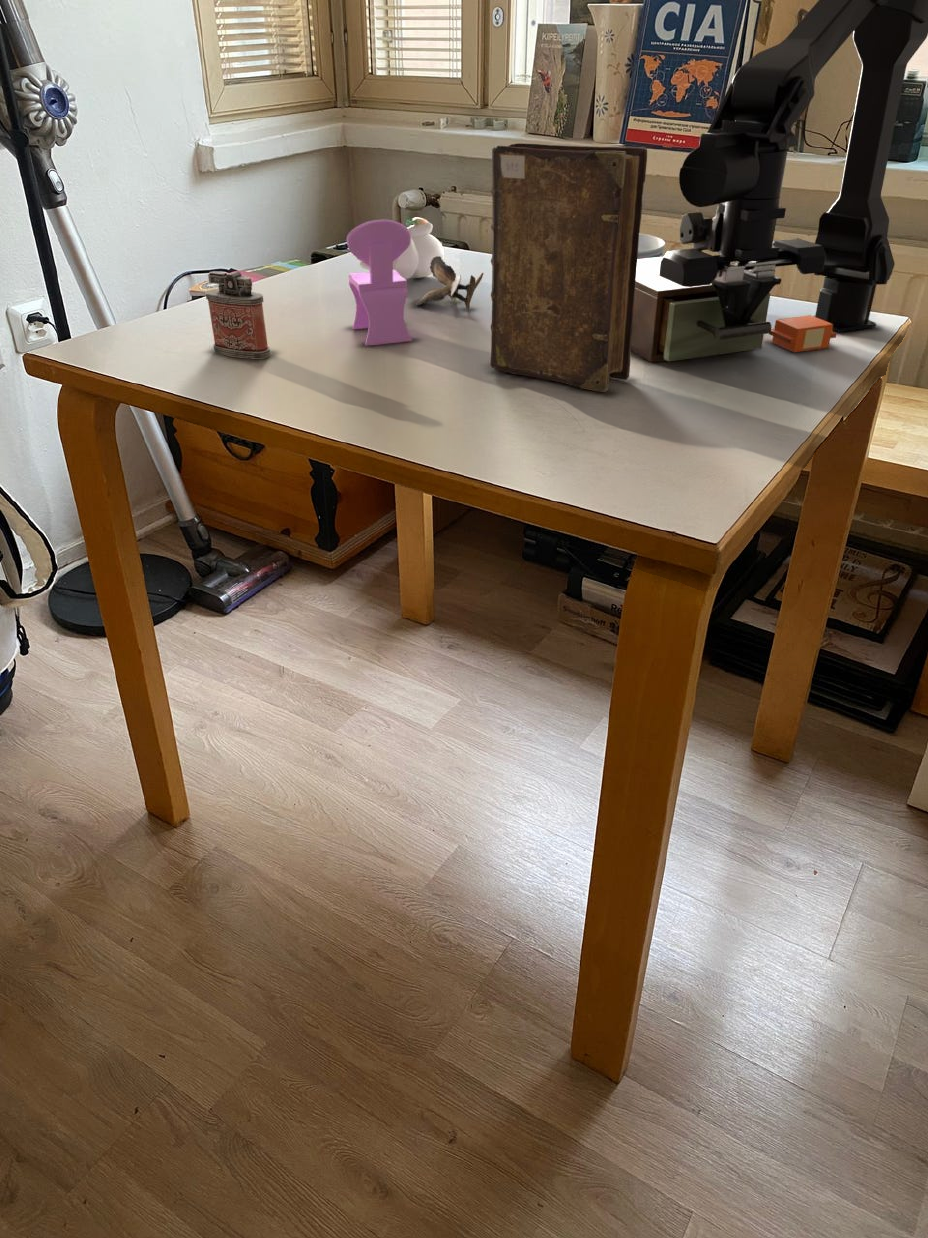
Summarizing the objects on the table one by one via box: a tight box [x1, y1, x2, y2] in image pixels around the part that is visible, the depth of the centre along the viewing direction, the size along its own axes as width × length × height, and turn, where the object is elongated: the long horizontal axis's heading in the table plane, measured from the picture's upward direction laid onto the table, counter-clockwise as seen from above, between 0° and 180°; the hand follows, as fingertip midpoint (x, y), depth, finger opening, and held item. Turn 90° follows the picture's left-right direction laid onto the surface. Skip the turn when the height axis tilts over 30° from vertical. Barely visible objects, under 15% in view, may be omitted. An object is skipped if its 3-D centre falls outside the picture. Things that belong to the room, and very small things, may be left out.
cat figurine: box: [359, 216, 445, 281], centre depth 151 cm, size 10×8×15 cm
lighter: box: [204, 270, 271, 360], centre depth 119 cm, size 8×3×10 cm, turn 65°
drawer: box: [658, 291, 772, 362], centre depth 118 cm, size 20×13×7 cm
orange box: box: [767, 314, 837, 353], centre depth 121 cm, size 5×7×3 cm
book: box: [489, 142, 648, 393], centre depth 107 cm, size 17×7×25 cm, turn 54°
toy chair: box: [346, 218, 413, 347], centre depth 124 cm, size 8×9×15 cm
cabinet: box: [631, 256, 716, 363], centre depth 123 cm, size 16×15×9 cm
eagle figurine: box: [415, 256, 485, 311], centre depth 138 cm, size 8×7×9 cm
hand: (732, 337), depth 112 cm, fingers closed, pressing on drawer
